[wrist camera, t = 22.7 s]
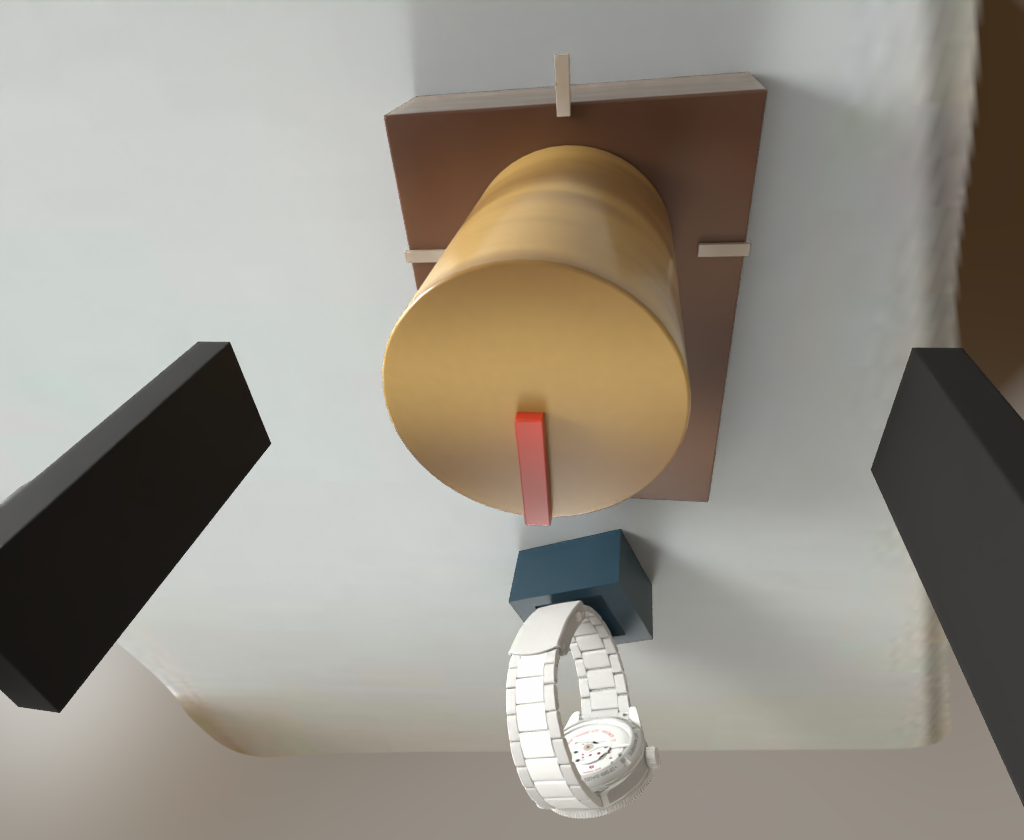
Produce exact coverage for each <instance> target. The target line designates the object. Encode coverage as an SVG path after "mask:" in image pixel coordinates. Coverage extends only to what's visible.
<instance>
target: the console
mask: <svg viewBox="0 0 1024 840" xmlns="http://www.w3.org/2000/svg"><path fill="white" fill-rule="evenodd" d="M554 57H555V81H556V86H551V87H537V88H524V89H510V90H497V91H483V92H470V93H456V94H443V95H429V96H416V97H414V98H413V99H411V100H409V101H408V102H406V103H404V104H403V105H401V106H400V107H398V108H396V109H395V110H393V111H391V112H390V113H388V114H386V115H385V116H384V121H385V126H386V131H387V136H388V141H389V147H390V152H391V157H392V162H393V167H394V172H395V178H396V183H397V188H398V193H399V198H400V203H401V208H402V214H403V219H404V224H405V229H406V234H407V239H408V244H409V250H406V251H405V252H404V254H405V259H406V263H412V265H413V270H414V275H415V281H416V286H417V291H418V290H419V288H420V287H421V285H422V284H423V282H424V281H425V279H426V278H427V276H428V275H429V274H430V272H431V271H432V269H433V268H434V266H435V265H436V263H437V262H438V260H439V259H440V257H441V256H442V254H443V253H444V251H445V250H446V248H447V247H448V245H449V244H450V242H451V241H452V239H453V238H454V237H455V235H456V234H457V232H458V231H459V229H460V228H461V226H462V225H463V223H464V222H465V220H466V219H467V217H468V216H469V214H470V213H471V211H472V210H473V208H474V207H475V205H476V204H477V202H478V201H479V200H480V198H481V197H482V195H483V194H484V192H485V191H486V189H487V188H488V186H489V185H490V184H491V182H492V181H493V180H494V179H495V178H496V177H497V176H498V175H499V174H500V173H501V172H502V171H503V170H504V169H506V168H507V167H508V166H509V165H510V164H512V163H513V162H515V161H517V160H518V159H520V158H522V157H523V156H526V155H528V154H530V153H533V152H535V151H538V150H542V149H545V148H549V147H556V146H563V145H577V146H586V147H592V148H596V149H600V150H603V151H606V152H609V153H611V154H613V155H615V156H618V157H620V158H622V159H623V160H625V161H626V162H628V163H629V164H631V165H633V166H634V167H635V168H636V169H637V170H639V171H640V172H641V173H642V174H643V175H644V176H645V177H646V178H647V179H648V180H649V182H650V183H651V184H652V185H653V186H654V188H655V189H656V191H657V192H658V194H659V196H660V197H661V199H662V201H663V203H664V205H665V208H666V210H667V212H668V216H669V219H670V223H671V228H672V235H673V243H674V252H675V260H676V269H677V277H678V286H679V294H680V303H681V312H682V320H683V329H684V337H685V346H686V354H687V363H688V371H689V380H690V388H691V411H690V417H689V422H688V427H687V430H686V433H685V435H684V438H683V441H682V443H681V445H680V447H679V449H678V450H677V452H676V454H675V456H674V458H673V459H672V460H671V462H670V463H669V464H668V465H667V467H666V468H665V469H664V471H663V472H662V473H661V474H660V475H659V476H658V477H657V478H656V479H655V480H654V481H653V482H652V483H650V484H649V485H648V486H646V487H645V488H644V489H642V490H641V491H640V492H638V493H637V494H635V495H633V496H631V497H630V498H640V499H659V500H679V501H698V502H708V501H709V496H710V489H711V482H712V475H713V468H714V461H715V454H716V447H717V440H718V433H719V426H720V419H721V412H722V405H723V398H724V391H725V384H726V377H727V370H728V363H729V356H730V349H731V342H732V335H733V328H734V321H735V314H736V307H737V300H738V294H739V287H740V280H741V273H742V266H743V259H744V256H749V253H750V247H751V243H750V242H746V238H747V231H748V224H749V217H750V210H751V203H752V196H753V189H754V182H755V175H756V168H757V161H758V154H759V147H760V140H761V133H762V126H763V119H764V112H765V105H766V98H767V89H766V88H765V87H764V86H763V85H762V84H761V83H760V82H759V81H758V80H757V79H756V78H755V77H754V76H753V75H752V74H751V73H750V72H740V73H727V74H713V75H700V76H686V77H673V78H659V79H646V80H632V81H619V82H605V83H592V84H578V85H570V56H569V53H565V54H555V56H554Z"/></svg>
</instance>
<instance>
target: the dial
mask: <svg viewBox="0 0 1024 840" xmlns="http://www.w3.org/2000/svg"><path fill="white" fill-rule="evenodd" d="M382 378H383V391H384V397H385V402H386V406H387V409H388V412H389V415H390V418H391V421H392V423H393V425H394V427H395V429H396V431H397V433H398V435H399V436H400V438H401V440H402V441H403V443H404V444H405V446H406V447H407V449H408V450H409V451H410V452H411V453H412V455H413V456H414V457H415V458H416V460H417V461H418V462H419V463H420V464H421V465H422V466H423V467H424V468H425V469H427V470H428V471H429V472H430V473H431V474H432V475H433V476H435V477H436V478H437V479H438V480H440V481H441V482H442V483H444V484H445V485H447V486H448V487H450V488H452V489H453V490H455V491H456V492H458V493H460V494H462V495H464V496H466V497H468V498H470V499H472V500H474V501H476V502H479V503H481V504H484V505H486V506H489V507H492V508H495V509H499V510H502V511H506V512H511V513H516V514H521V515H525V523H526V525H538V526H550V525H551V519H552V517H563V516H574V515H580V514H585V513H591V512H594V511H598V510H601V509H605V508H608V507H610V506H613V505H615V504H617V503H620V502H622V501H624V500H626V499H628V498H630V497H631V496H633V495H635V494H637V493H638V492H640V491H641V490H642V489H644V488H645V487H646V486H648V485H649V484H650V483H652V482H653V481H654V480H655V479H656V478H657V477H658V476H659V475H660V474H661V473H662V472H663V471H664V469H665V468H666V467H667V465H668V464H669V463H670V462H671V460H672V459H673V458H674V456H675V454H676V452H677V450H678V449H679V447H680V445H681V443H682V441H683V438H684V435H685V433H686V430H687V427H688V422H689V417H690V411H691V388H690V380H689V371H688V363H687V354H686V346H685V337H684V329H683V320H682V312H681V303H680V294H679V286H678V277H677V269H676V260H675V252H674V243H673V235H672V228H671V223H670V219H669V216H668V212H667V210H666V208H665V205H664V203H663V201H662V199H661V197H660V196H659V194H658V192H657V191H656V189H655V188H654V186H653V185H652V184H651V183H650V182H649V180H648V179H647V178H646V177H645V176H644V175H643V174H642V173H641V172H640V171H639V170H637V169H636V168H635V167H634V166H633V165H631V164H629V163H628V162H626V161H625V160H623V159H622V158H620V157H618V156H615V155H613V154H611V153H609V152H606V151H603V150H600V149H596V148H592V147H586V146H577V145H563V146H556V147H549V148H545V149H542V150H538V151H535V152H533V153H530V154H528V155H526V156H523V157H522V158H520V159H518V160H517V161H515V162H513V163H512V164H510V165H509V166H508V167H507V168H506V169H504V170H503V171H502V172H501V173H500V174H499V175H498V176H497V177H496V178H495V179H494V180H493V181H492V182H491V184H490V185H489V186H488V188H487V189H486V191H485V192H484V194H483V195H482V197H481V198H480V200H479V201H478V202H477V204H476V205H475V207H474V208H473V210H472V211H471V213H470V214H469V216H468V217H467V219H466V220H465V222H464V223H463V225H462V226H461V228H460V229H459V231H458V232H457V234H456V235H455V237H454V238H453V239H452V241H451V242H450V244H449V245H448V247H447V248H446V250H445V251H444V253H443V254H442V256H441V257H440V259H439V260H438V262H437V263H436V265H435V266H434V268H433V269H432V271H431V272H430V274H429V275H428V276H427V278H426V279H425V281H424V282H423V284H422V285H421V287H420V288H419V290H418V291H417V293H416V294H415V296H414V297H413V299H412V300H411V302H410V303H409V305H408V306H407V308H406V309H405V311H404V312H403V313H402V315H401V316H400V318H399V319H398V321H397V322H396V324H395V327H394V329H393V331H392V333H391V335H390V337H389V340H388V343H387V347H386V350H385V353H384V360H383V368H382Z"/></svg>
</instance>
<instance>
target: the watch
mask: <svg viewBox="0 0 1024 840" xmlns="http://www.w3.org/2000/svg"><path fill="white" fill-rule="evenodd" d="M509 603H510V604H511V606H512V607H513V608H514V610H515V611H516V612H517V614H518V615H519V616H520V618H521V619H522V620H523V622H524V624H523V625H522V627H521V628H520V630H519V632H518V634H517V636H516V638H515V640H514V642H513V644H512V646H511V649H510V651H509V655H511V656H512V657H511V660H510V664H509V668H510V669H509V670H508V676H507V684H506V687H507V688H508V689H507V691H506V711H507V715H511V716H507V724H508V733H509V739H510V742H511V743H510V747H511V752H512V756H513V760H514V764H515V766H516V767H517V772H518V775H519V777H520V780H521V782H522V784H523V786H524V787H526V791H527V793H528V795H529V796H530V797H531V799H532V800H533V801H535V802H536V804H537V806H538V807H539V808H541V809H552V810H553V811H554V812H556V813H558V814H560V815H562V816H565V817H566V816H567V817H570V818H572V817H573V818H592V817H599V816H602V815H605V814H608V813H611V812H614V811H616V810H618V809H620V808H623V807H624V806H626V805H627V804H629V803H630V802H632V801H633V800H634V799H636V798H637V797H638V796H639V795H640V794H641V793H642V792H643V791H644V790H645V788H646V787H647V786H648V784H649V782H650V781H651V779H652V776H653V773H654V768H660V764H661V759H660V753H659V750H658V748H657V747H656V746H654V747H648V746H647V743H646V740H645V737H644V733H643V730H642V726H641V722H640V719H639V715H638V712H637V709H636V706H634V707H631V704H630V698H629V695H628V693H629V691H628V686H627V681H626V677H625V674H624V673H622V672H624V668H623V664H622V661H621V658H620V655H619V653H618V648H617V646H616V644H623V643H630V642H637V641H645V640H652V639H653V617H652V585H651V583H650V581H649V579H648V578H647V576H646V574H645V572H644V570H643V569H642V567H641V565H640V563H639V561H638V560H637V558H636V556H635V554H634V552H633V551H632V549H631V547H630V545H629V544H628V542H627V540H626V538H625V536H624V535H623V533H622V531H621V529H620V530H615V531H610V532H606V533H601V534H597V535H592V536H588V537H583V538H578V539H574V540H569V541H565V542H560V543H556V544H551V545H547V546H542V547H537V548H533V549H528V550H524V551H519V554H518V559H517V564H516V569H515V574H514V579H513V583H512V588H511V593H510V598H509ZM568 651H571V652H572V655H573V658H574V659H575V665H576V669H577V674H578V677H579V678H580V677H585V678H580V679H579V685H580V694H581V698H587V699H582V700H581V706H582V716H581V714H580V712H574V713H573V714H572V716H571V717H570V719H569V721H568V723H567V725H566V727H565V728H564V729H563V725H562V721H561V716H560V712H559V711H555V710H558V709H559V703H558V692H557V686H556V685H555V684H556V683H557V668H558V663H559V659H560V656H563V655H567V653H568ZM603 667H606V668H603ZM595 668H598V669H595ZM588 669H590V670H588ZM615 673H619V674H615ZM615 687H616V688H615ZM606 688H615V689H606ZM597 689H606V690H597ZM592 690H596V691H592ZM620 694H626V695H620ZM539 702H545V703H539ZM530 703H535V704H530ZM520 704H525V705H520ZM549 711H552V712H549ZM514 714H517V715H514ZM548 729H549V730H548ZM537 730H543V731H537ZM525 731H531V732H525Z"/></svg>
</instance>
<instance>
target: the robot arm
mask: <svg viewBox="0 0 1024 840" xmlns="http://www.w3.org/2000/svg"><path fill="white" fill-rule="evenodd" d="M270 445H271V442H270V440H269V437H268V435H267V432H266V430H265V427H264V425H263V422H262V420H261V417H260V415H259V413H258V410H257V408H256V405H255V403H254V400H253V398H252V395H251V393H250V390H249V388H248V385H247V383H246V380H245V378H244V376H243V373H242V371H241V368H240V366H239V363H238V361H237V358H236V356H235V353H234V351H233V348H232V346H231V344H230V342H197V343H196V344H195V345H194V346H192V347H191V348H190V349H189V350H188V351H186V352H185V353H184V354H183V355H182V356H180V357H179V358H178V359H177V360H176V361H174V362H173V363H172V364H171V365H170V366H169V367H167V368H166V369H165V370H164V371H163V372H161V373H160V374H159V375H158V376H157V377H155V378H154V379H153V380H152V381H151V382H149V383H148V384H147V385H146V386H145V387H143V388H142V389H141V390H140V391H139V392H137V393H136V394H135V395H134V396H133V397H131V398H130V399H129V400H128V401H127V402H125V403H124V404H123V405H122V406H121V407H119V408H118V409H117V410H116V411H115V412H113V413H112V414H111V415H110V416H109V417H108V418H106V419H105V420H104V421H103V422H102V423H100V424H99V425H98V426H97V427H96V428H94V429H93V430H92V431H91V432H90V433H88V434H87V435H86V436H85V437H84V438H82V439H81V440H80V441H79V442H78V443H76V444H75V445H74V446H73V447H72V448H70V449H69V450H68V451H67V452H66V453H64V454H63V455H62V456H61V457H60V458H58V459H57V460H56V461H55V462H54V463H52V464H51V465H50V466H49V467H48V468H47V469H45V470H44V471H43V472H42V473H41V474H39V475H38V476H37V477H36V478H35V479H33V480H32V481H30V482H28V483H27V484H25V485H23V486H21V487H20V488H19V489H18V490H16V491H15V492H14V493H13V494H12V495H10V496H9V497H8V498H7V499H6V500H4V501H3V502H2V503H1V504H0V690H1V691H2V692H3V693H4V694H6V695H7V696H8V697H9V698H10V699H11V700H12V701H13V702H14V703H15V704H16V705H17V706H18V707H24V708H30V709H37V710H44V711H51V712H58V713H60V712H61V711H62V709H63V708H64V707H65V706H66V704H67V703H68V702H69V701H70V699H71V698H72V697H73V695H74V694H75V693H76V691H77V690H78V689H79V687H80V686H81V685H82V684H83V683H84V681H85V680H86V679H87V678H88V676H89V675H90V674H91V672H92V671H93V670H94V669H95V667H96V666H97V665H98V664H99V662H100V661H101V660H102V659H103V657H104V656H105V655H106V653H107V652H108V651H109V649H110V648H111V647H112V646H113V644H114V643H115V642H116V641H117V639H118V638H119V637H120V636H121V634H122V633H123V632H124V630H125V629H126V628H127V627H128V625H129V624H130V623H131V622H132V620H133V619H134V618H135V616H136V615H137V614H138V613H139V611H140V610H141V609H142V608H143V606H144V605H145V604H146V602H147V601H148V600H149V599H150V597H151V596H152V595H153V594H154V592H155V591H156V590H157V588H158V587H159V586H160V585H161V583H162V582H163V581H164V580H165V578H166V577H167V576H168V574H169V573H170V572H171V571H172V569H173V568H174V567H175V566H176V564H177V563H178V562H179V560H180V559H181V558H182V557H183V555H184V554H185V553H186V552H187V550H188V549H189V548H190V546H191V545H192V544H193V543H194V541H195V540H196V539H197V537H198V536H199V535H200V534H201V532H202V531H203V530H204V529H205V527H206V526H207V525H208V523H209V522H210V521H211V520H212V518H213V517H214V516H215V515H216V513H217V512H218V511H219V509H220V508H221V507H222V506H223V504H224V503H225V502H226V501H227V499H228V498H229V497H230V495H231V494H232V493H233V492H234V490H235V489H236V488H237V487H238V485H239V484H240V483H241V481H242V480H243V479H244V478H245V476H246V475H247V474H248V473H249V471H250V470H251V469H252V467H253V466H254V465H255V464H256V462H257V461H258V460H259V459H260V457H261V456H262V455H263V453H264V452H265V451H266V450H267V448H268V447H269V446H270ZM871 471H872V473H873V476H874V478H875V480H876V482H877V484H878V487H879V489H880V491H881V493H882V495H883V498H884V500H885V502H886V504H887V506H888V509H889V511H890V513H891V515H892V517H893V520H894V522H895V524H896V526H897V528H898V531H899V533H900V535H901V537H902V540H903V542H904V544H905V546H906V548H907V551H908V553H909V555H910V557H911V559H912V562H913V564H914V566H915V568H916V570H917V573H918V575H919V577H920V579H921V581H922V584H923V586H924V588H925V590H926V592H927V595H928V597H929V599H930V601H931V603H932V606H933V608H934V610H935V612H936V614H937V617H938V619H939V621H940V623H941V625H942V628H943V630H944V632H945V634H946V636H947V639H948V641H949V643H950V645H951V647H952V649H953V652H954V654H955V656H956V658H957V661H958V663H959V665H960V667H961V669H962V672H963V674H964V676H965V678H966V680H967V683H968V685H969V687H970V689H971V691H972V694H973V696H974V698H975V700H976V703H977V705H978V707H979V709H980V711H981V713H982V716H983V718H984V720H985V722H986V725H987V727H988V729H989V731H990V733H991V736H992V738H993V740H994V742H995V744H996V746H997V749H998V751H999V753H1000V755H1001V758H1002V760H1003V762H1004V764H1005V766H1006V768H1007V771H1008V773H1009V775H1010V777H1011V780H1012V782H1013V784H1014V786H1015V788H1016V791H1017V793H1018V795H1019V797H1020V799H1021V802H1022V804H1023V806H1024V420H1023V419H1022V418H1021V417H1020V416H1019V415H1018V413H1017V412H1016V411H1015V410H1014V409H1013V407H1012V406H1011V405H1010V404H1009V403H1008V402H1007V400H1006V399H1005V398H1004V397H1003V396H1002V394H1001V393H1000V392H999V391H998V390H997V389H996V387H995V386H994V385H993V384H992V382H991V381H990V380H989V379H988V378H987V377H986V376H985V374H984V373H983V372H982V371H981V370H980V368H979V367H978V366H977V365H976V363H975V362H974V361H973V360H972V359H971V358H970V356H969V355H968V354H967V353H966V352H965V350H964V349H963V348H912V350H911V353H910V356H909V359H908V362H907V365H906V368H905V371H904V374H903V377H902V380H901V383H900V386H899V388H898V391H897V394H896V397H895V400H894V403H893V406H892V409H891V412H890V415H889V418H888V421H887V424H886V427H885V430H884V432H883V435H882V438H881V441H880V444H879V447H878V450H877V453H876V456H875V459H874V462H873V465H872V468H871Z"/></svg>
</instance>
